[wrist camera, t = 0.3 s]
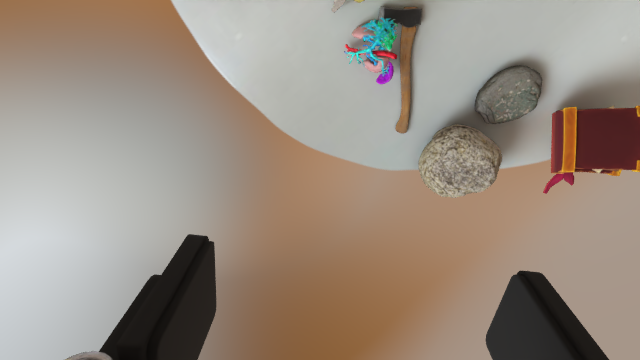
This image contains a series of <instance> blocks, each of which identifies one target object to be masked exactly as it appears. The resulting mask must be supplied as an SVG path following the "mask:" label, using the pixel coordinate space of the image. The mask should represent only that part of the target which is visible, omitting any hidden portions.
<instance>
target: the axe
mask: <svg viewBox="0 0 640 360" xmlns="http://www.w3.org/2000/svg"><path fill="white" fill-rule="evenodd" d="M421 13H422V9H420V8H417V7H404V9H397V8H388V7H380V12H379V23H380V21H381V22H383V20H382V19H380V18H381V17H382V18H384V19H386V18H387V19H389V20H388V23H389V22H390V21H392V20H393V21H392V22H393V23H396V24H398V23H401V24H402V31H401V44H400V72H401V94H402V109H401V116H400V119H399V121H398V123H397V125H396V131H397V132H399V133H406V132H407V127H408V121H409V113H410V96H411V86H410V58H411V49H412V44H413V40H414V36H415V33H416V25H421ZM390 18H391V19H390ZM394 19H395V20H394ZM385 21H386V20H385ZM383 23H384V22H383ZM390 23H391V22H390ZM390 25H391V27H393V26H394V24H390ZM385 30H386V32H387V29H386V28H385Z"/></svg>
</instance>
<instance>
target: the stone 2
mask: <svg viewBox="0 0 640 360" xmlns="http://www.w3.org/2000/svg"><path fill="white" fill-rule="evenodd" d="M541 86H542V78H541V76H540V74H539V73H538V72H537V71H535V70H533V69H531V68H529V67H526V66H513V67H510V68H507V69H505V70H503V71H500V72H498V73H497V74H495V75H494V76H493V77H492V78H490V79H489V80H488V81H487V83H486V84H485V85H484V86H483V87H482V88H481V89H480V90H479V92H478V94H477V97H476V101H475V110H476V112H478V113H479V114H481V116H482V117H483V119H484V121H485V122H486V123H488V124H496V123H504V122H507V121H511V120H514V119H518V118H520V117H522V116H523V115H526V114H527V113H528V112H531V111H532V110H533V109H534V108H535V107H536V106H537V102H538V99H539V97H540V93H541Z"/></svg>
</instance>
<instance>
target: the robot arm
mask: <svg viewBox="0 0 640 360" xmlns="http://www.w3.org/2000/svg"><path fill="white" fill-rule="evenodd" d="M215 282H216V281H215V253H214V242H212V241H209V239H208V237H207V236H200V235H191V234H189V235H188V236H187V237H186V238H185V240H184V241H183V243H182V245H181V246H180V247H179V249H178V250H177V252H176V253H175V255H174V257H173V258H172V260H171V261H170V263H169V264H168V266H167V267H166V269H165V270H164V272H163V273H162V275H153V276H151V277H150V279H149V280H148V281H147V282H146V284H145V285H144V287H143V288H142V290H141V292H140V293H139V294H138V296H137V297H136V298H135V300H134V301H133V303H132V304H131V306H130V307H129V309H128V310H127V312H126V313H125V314H124V316H123V318H122V319H121V320H120V322H119V323H118V325H117V326H116V327H115V329H114V330H113V332H112V333H111V335H110V336H109V338H108V339H107V341H106V342H105V343H104V345H103V346H102V348H101V349H100V351H99V352H97V351H91V352H83V353H80V354H76V355H73V356H71V357H69V358H67V359H65V360H197V359H198V357H199V354H200V352H201V349H202V346H203V344H204V341H205V339H206V337H207V334H208V332H209V329H210V326H211V324H212V321H213V319H214V316H215V312H216V283H215ZM486 345H487V348H488V350H489V352H490V355H491V357H492V359H493V360H609V359H608V358H607V356H606V355H605V354H604V352H603V351H602V350H601V349H600V347H599V346H598V345H597V343H596V342H595V341H594V339H593V338H592V337H591V336H590V334H589V333H588V332H587V330H586V329H585V328H584V327H583V325H582V324H581V323H580V322H579V320H578V319H577V318H576V316H575V315H574V314H573V312H572V311H571V310H570V308H569V307H568V306H567V305H566V303H565V302H564V301H563V299H562V298H561V297H560V295H559V294H558V293H557V292H556V290H555V289H554V288H553V286H552V285H551V284H550V283H549V281H548V280H547V279H546V277H545V276H544V275H543V274H541V273H539V272H530V271H519V272H518V273H517V275H513V276H512V277H511V279H510V282H509V284H508V286H507V289H506V291H505V293H504V295H503V298H502V300H501V302H500V305H499V307H498V309H497V311H496V314H495V316H494V318H493V321H492V323H491V325H490V327H489V330H488V332H487V335H486Z"/></svg>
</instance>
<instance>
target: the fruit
mask: <svg viewBox="0 0 640 360" xmlns="http://www.w3.org/2000/svg"><path fill="white" fill-rule="evenodd" d="M354 1H355V2H358V3H360V2H362V1H364V0H354ZM344 2H345V0H335V1H334V5H333V8H332V11H333V12H335V11H336V10H338V9H339V8H340V7H341V5H342V4H343V3H344Z"/></svg>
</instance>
